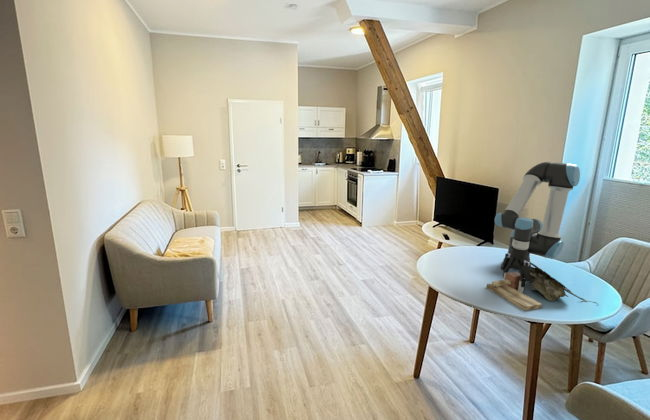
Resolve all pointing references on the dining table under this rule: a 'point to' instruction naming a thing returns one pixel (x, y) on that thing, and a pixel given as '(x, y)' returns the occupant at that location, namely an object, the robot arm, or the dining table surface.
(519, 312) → the dining table surface
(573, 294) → the dry twig
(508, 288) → the board
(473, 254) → the dining table surface
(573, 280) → the dining table surface
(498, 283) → the brown block with handle
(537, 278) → the hollow geode rock
